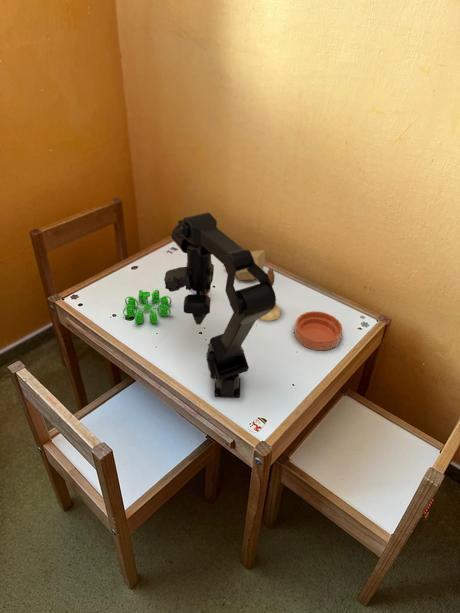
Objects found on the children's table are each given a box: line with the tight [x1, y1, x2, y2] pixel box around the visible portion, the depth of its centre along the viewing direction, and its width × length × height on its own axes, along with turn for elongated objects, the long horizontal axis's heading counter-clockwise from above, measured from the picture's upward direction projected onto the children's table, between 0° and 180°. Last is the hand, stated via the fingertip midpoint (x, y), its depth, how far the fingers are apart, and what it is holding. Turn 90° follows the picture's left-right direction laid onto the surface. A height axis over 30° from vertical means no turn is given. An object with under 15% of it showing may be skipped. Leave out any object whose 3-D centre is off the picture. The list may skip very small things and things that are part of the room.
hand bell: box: [258, 267, 282, 322], centre depth 139 cm, size 8×8×16 cm
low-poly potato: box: [222, 249, 266, 281], centre depth 156 cm, size 15×11×12 cm
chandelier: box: [122, 289, 172, 325], centre depth 141 cm, size 15×15×7 cm
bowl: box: [294, 310, 343, 351], centre depth 136 cm, size 13×13×4 cm
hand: (199, 312), depth 123 cm, fingers open, 9 cm apart
